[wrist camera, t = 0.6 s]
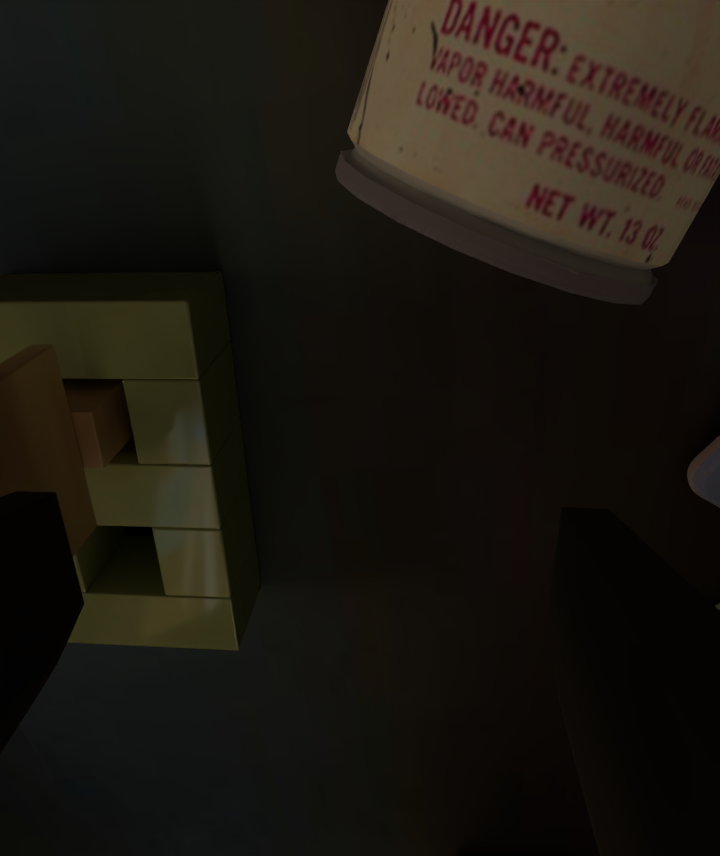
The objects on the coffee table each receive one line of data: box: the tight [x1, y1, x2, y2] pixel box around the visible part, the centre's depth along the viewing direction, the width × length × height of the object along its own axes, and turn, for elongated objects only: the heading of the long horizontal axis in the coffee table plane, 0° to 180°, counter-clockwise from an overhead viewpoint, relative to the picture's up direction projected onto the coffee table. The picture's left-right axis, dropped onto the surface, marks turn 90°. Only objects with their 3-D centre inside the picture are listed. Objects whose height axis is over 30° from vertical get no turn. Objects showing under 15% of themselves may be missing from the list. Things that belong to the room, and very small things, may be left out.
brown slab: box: [0, 344, 133, 557], centre depth 17 cm, size 5×2×8 cm, turn 2°
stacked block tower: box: [0, 272, 261, 650], centre depth 20 cm, size 11×6×3 cm, turn 2°
